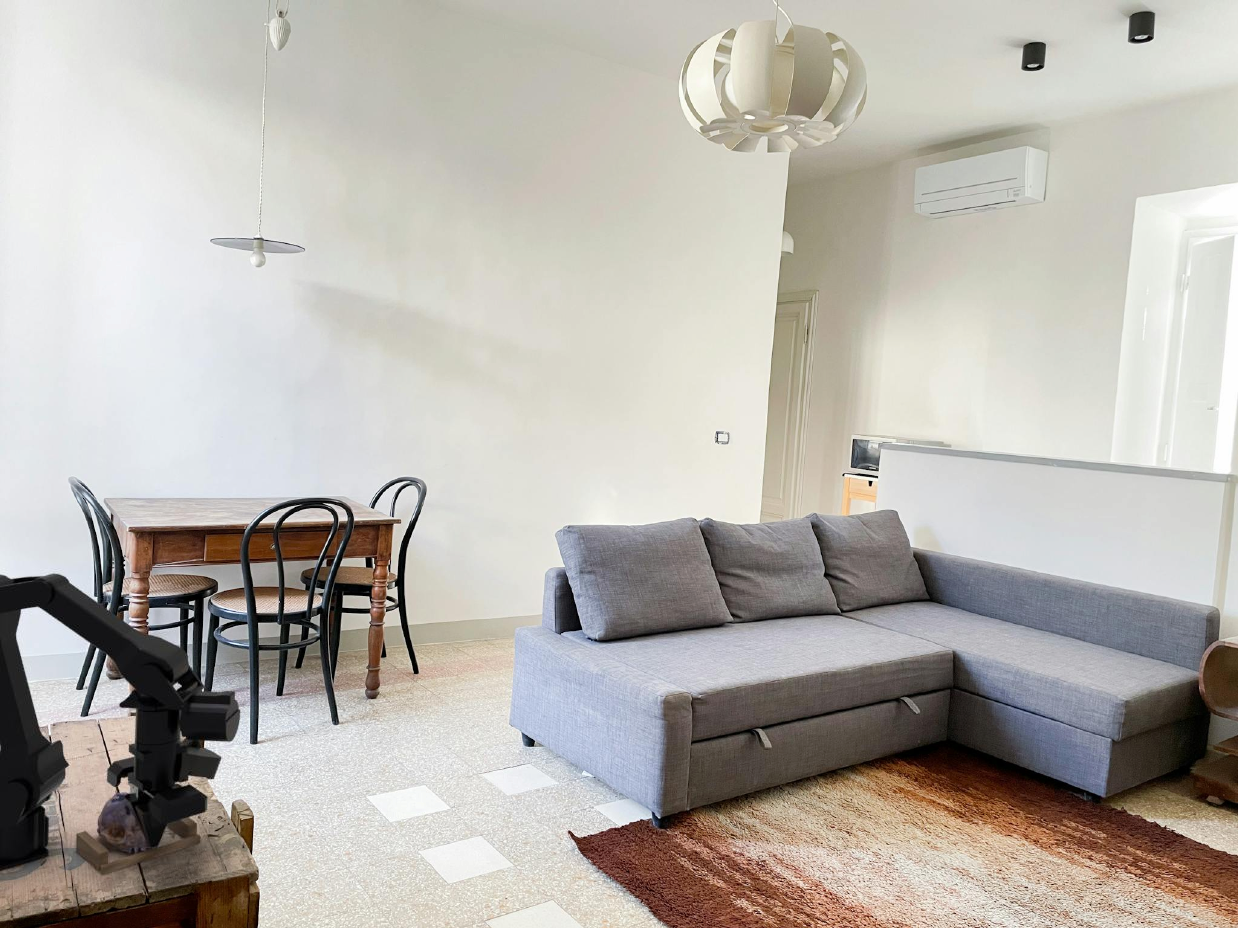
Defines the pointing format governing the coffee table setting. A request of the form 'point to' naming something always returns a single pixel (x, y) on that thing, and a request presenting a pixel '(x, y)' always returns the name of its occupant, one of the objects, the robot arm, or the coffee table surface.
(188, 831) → the rail notch
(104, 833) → the skull
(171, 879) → the coffee table surface
